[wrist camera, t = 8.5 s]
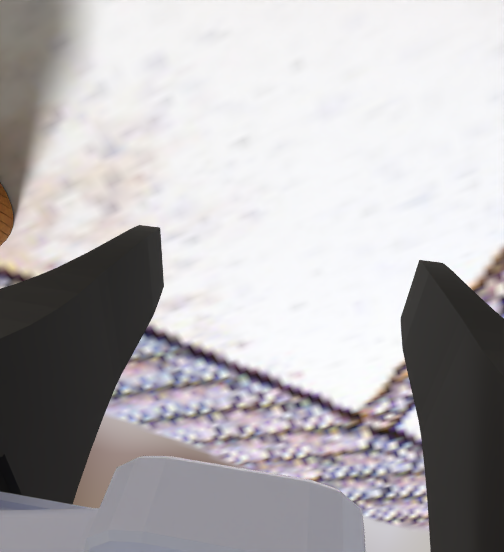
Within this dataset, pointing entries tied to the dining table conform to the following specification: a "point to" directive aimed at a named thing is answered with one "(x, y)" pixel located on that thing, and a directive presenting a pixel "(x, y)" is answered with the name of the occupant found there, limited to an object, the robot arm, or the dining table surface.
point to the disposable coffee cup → (5, 216)
